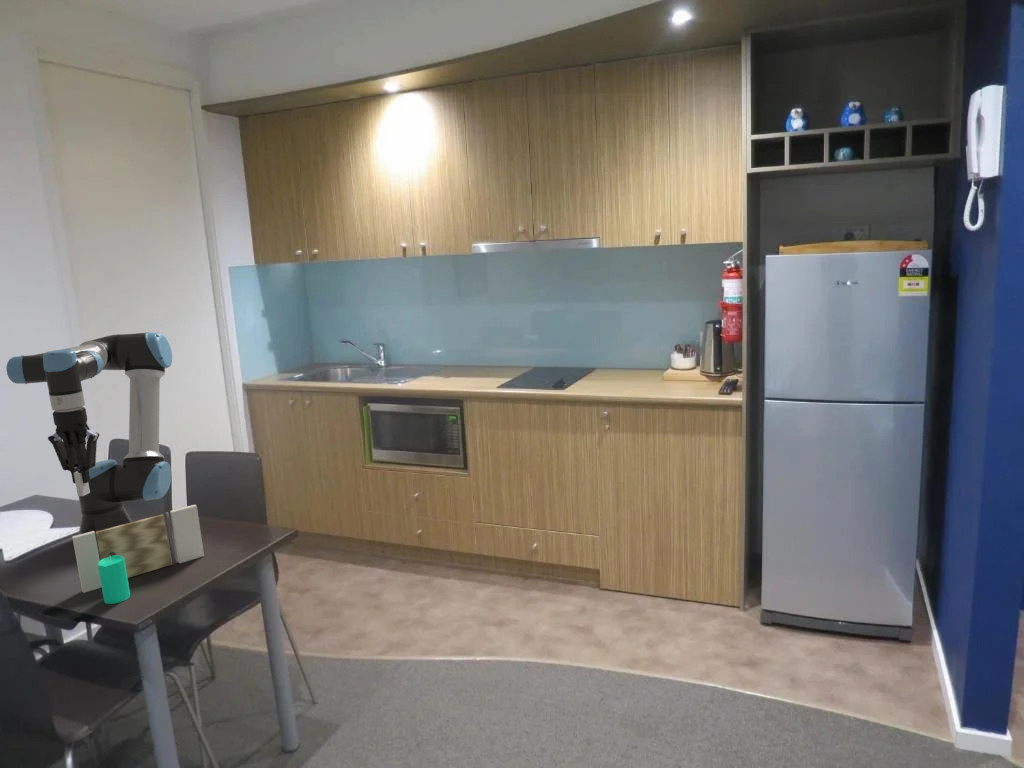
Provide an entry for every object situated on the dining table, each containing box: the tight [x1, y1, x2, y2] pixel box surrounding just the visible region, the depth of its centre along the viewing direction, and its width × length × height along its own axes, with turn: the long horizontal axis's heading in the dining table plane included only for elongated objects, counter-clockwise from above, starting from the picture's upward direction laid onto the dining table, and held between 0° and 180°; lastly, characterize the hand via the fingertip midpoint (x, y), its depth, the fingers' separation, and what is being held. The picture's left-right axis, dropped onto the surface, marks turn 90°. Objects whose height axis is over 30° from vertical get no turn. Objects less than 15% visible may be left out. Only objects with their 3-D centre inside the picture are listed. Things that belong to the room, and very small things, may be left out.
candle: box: [98, 555, 131, 605], centre depth 186 cm, size 6×6×12 cm
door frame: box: [71, 504, 205, 593], centre depth 200 cm, size 2×31×15 cm, turn 130°
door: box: [96, 513, 172, 579], centre depth 198 cm, size 17×3×15 cm, turn 130°
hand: (84, 494), depth 195 cm, fingers closed
